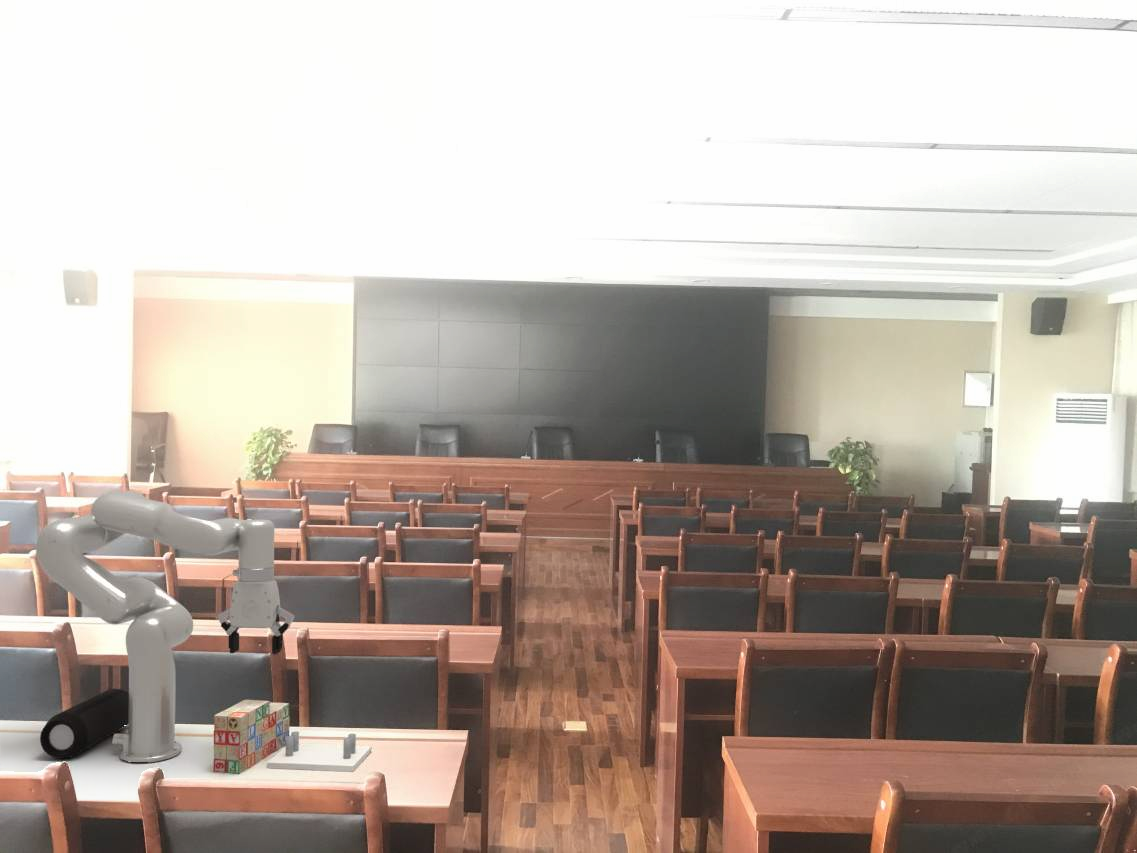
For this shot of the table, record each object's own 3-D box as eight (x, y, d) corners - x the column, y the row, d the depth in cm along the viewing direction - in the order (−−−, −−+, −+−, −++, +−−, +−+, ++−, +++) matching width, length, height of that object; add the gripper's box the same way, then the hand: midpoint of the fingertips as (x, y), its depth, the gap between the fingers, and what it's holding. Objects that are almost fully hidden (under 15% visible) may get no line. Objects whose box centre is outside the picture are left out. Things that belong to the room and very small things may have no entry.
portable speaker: (100, 726, 226) (101, 685, 226) (139, 727, 226) (140, 686, 226) (35, 761, 200) (36, 715, 201) (79, 762, 200) (80, 716, 200)
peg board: (266, 768, 197) (267, 743, 198) (290, 748, 210) (290, 725, 211) (353, 771, 196) (353, 747, 196) (371, 751, 209) (371, 728, 209)
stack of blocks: (265, 741, 216) (265, 688, 216) (289, 743, 214) (290, 690, 215) (212, 772, 195) (213, 714, 195) (239, 775, 194) (240, 716, 194)
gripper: (210, 577, 202) (210, 655, 202) (287, 578, 201) (286, 657, 200) (226, 572, 210) (225, 648, 209) (300, 573, 208) (299, 649, 208)
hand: (255, 652), depth 205 cm, fingers open, 9 cm apart
